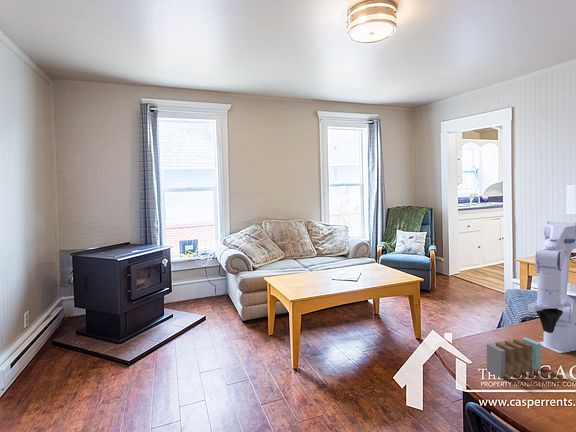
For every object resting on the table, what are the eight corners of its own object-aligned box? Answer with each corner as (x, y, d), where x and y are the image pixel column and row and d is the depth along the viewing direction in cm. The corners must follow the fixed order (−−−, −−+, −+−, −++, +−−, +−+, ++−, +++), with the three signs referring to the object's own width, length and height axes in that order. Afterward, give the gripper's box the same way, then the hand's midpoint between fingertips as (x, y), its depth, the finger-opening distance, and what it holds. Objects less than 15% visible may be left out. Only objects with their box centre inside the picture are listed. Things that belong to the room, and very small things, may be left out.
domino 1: (499, 367, 106) (499, 341, 106) (514, 375, 102) (514, 348, 101) (495, 367, 106) (495, 342, 106) (509, 376, 101) (510, 349, 101)
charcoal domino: (490, 368, 106) (491, 343, 105) (505, 377, 101) (505, 350, 100) (486, 369, 105) (486, 344, 105) (500, 378, 100) (500, 351, 100)
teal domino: (525, 361, 109) (525, 337, 109) (540, 369, 104) (540, 343, 104) (521, 362, 109) (521, 338, 108) (536, 370, 104) (536, 344, 103)
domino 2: (508, 365, 107) (508, 340, 107) (523, 373, 103) (523, 347, 102) (504, 366, 107) (504, 341, 106) (518, 374, 102) (519, 347, 102)
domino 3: (516, 363, 108) (517, 338, 108) (532, 371, 103) (532, 345, 103) (512, 364, 108) (513, 339, 107) (527, 372, 103) (528, 346, 103)
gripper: (543, 294, 100) (543, 340, 101) (580, 289, 104) (579, 333, 105) (521, 288, 107) (521, 331, 108) (556, 283, 111) (555, 324, 112)
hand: (548, 331), depth 107 cm, fingers closed
